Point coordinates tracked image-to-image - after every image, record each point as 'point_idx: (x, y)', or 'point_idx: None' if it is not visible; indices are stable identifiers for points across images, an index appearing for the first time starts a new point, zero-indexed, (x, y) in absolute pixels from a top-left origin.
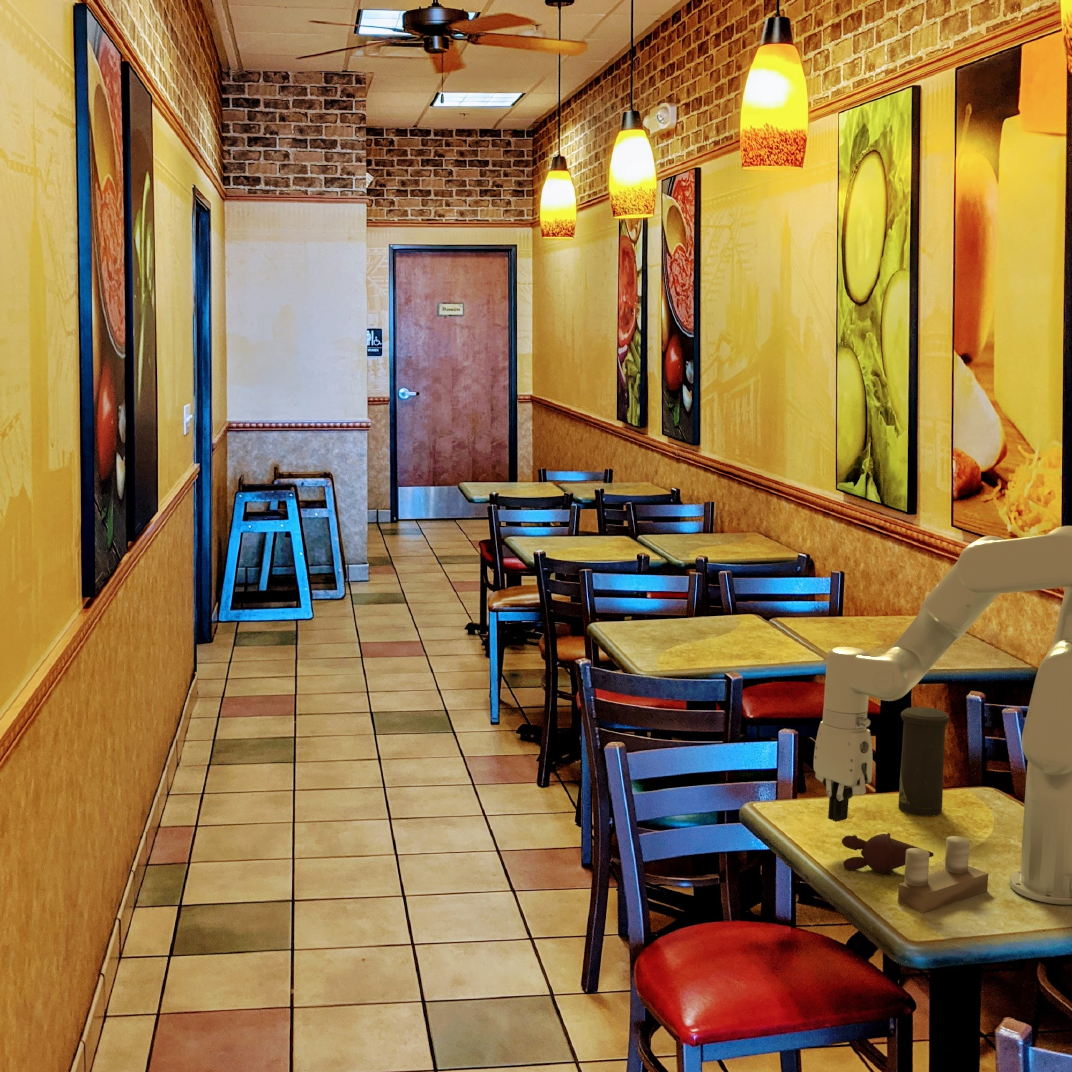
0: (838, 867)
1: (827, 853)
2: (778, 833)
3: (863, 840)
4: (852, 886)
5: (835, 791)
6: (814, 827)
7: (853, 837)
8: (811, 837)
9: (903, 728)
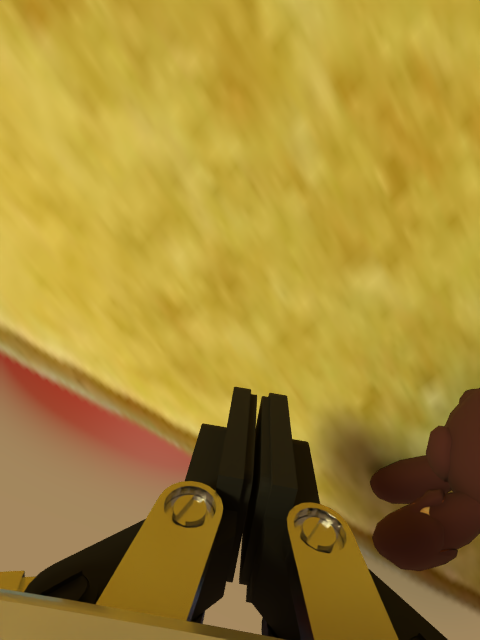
0: (350, 477)
1: None
2: (19, 359)
3: (477, 528)
4: (461, 567)
5: (204, 594)
6: (42, 197)
7: (438, 558)
8: (114, 307)
9: None
